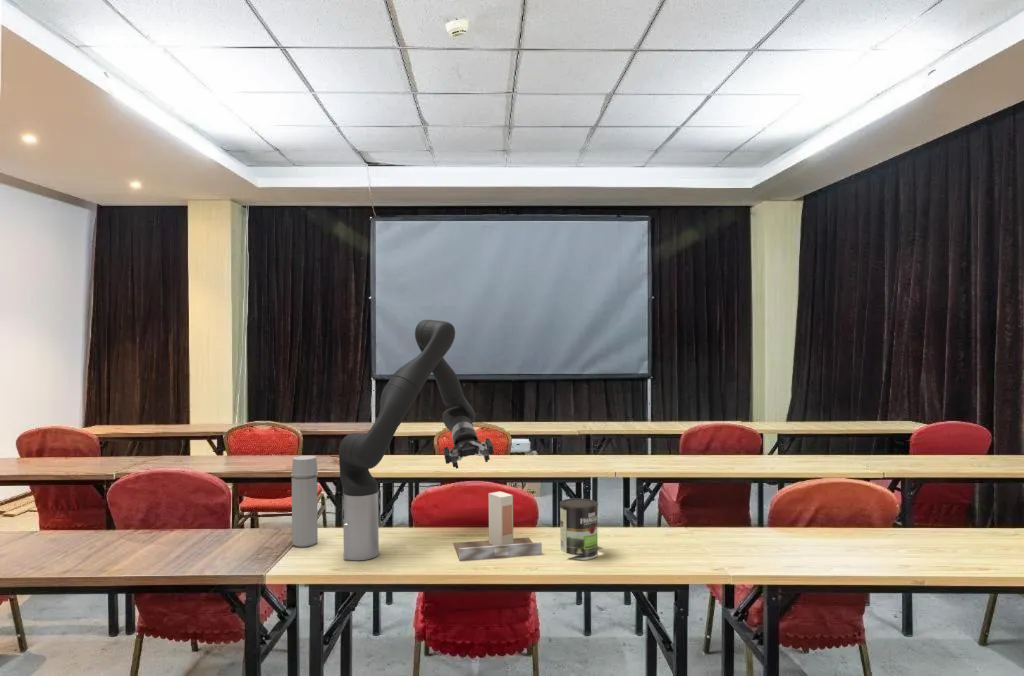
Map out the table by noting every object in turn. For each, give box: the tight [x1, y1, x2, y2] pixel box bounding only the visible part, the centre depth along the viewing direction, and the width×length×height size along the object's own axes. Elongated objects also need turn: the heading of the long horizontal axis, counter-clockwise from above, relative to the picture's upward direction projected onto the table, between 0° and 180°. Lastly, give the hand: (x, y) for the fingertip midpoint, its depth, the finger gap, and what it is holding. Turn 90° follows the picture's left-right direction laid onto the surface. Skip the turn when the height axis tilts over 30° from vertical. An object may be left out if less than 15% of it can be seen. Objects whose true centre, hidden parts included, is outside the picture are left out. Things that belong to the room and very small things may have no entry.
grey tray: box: [452, 537, 543, 562], centre depth 178 cm, size 22×15×4 cm
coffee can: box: [559, 497, 599, 561], centre depth 178 cm, size 10×10×14 cm
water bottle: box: [290, 455, 319, 548], centre depth 190 cm, size 9×8×25 cm
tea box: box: [488, 491, 514, 546], centre depth 182 cm, size 4×6×14 cm, turn 37°
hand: (471, 462), depth 184 cm, fingers open, 8 cm apart
